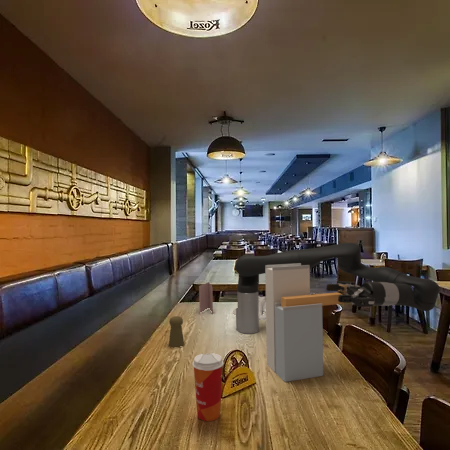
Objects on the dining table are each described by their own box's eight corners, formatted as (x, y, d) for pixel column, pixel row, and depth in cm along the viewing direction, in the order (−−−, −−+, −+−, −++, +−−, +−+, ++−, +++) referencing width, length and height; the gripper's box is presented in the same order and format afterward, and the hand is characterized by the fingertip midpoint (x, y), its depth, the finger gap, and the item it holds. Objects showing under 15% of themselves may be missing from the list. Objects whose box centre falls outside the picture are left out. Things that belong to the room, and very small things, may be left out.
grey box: (312, 367, 109) (311, 299, 109) (323, 375, 103) (322, 303, 103) (275, 373, 105) (274, 302, 105) (284, 382, 99) (283, 307, 99)
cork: (181, 348, 127) (180, 319, 127) (166, 347, 129) (165, 318, 129) (186, 342, 133) (185, 315, 133) (171, 342, 134) (171, 314, 134)
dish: (264, 323, 158) (264, 299, 158) (223, 315, 174) (222, 293, 174) (289, 312, 178) (288, 291, 178) (249, 305, 193) (249, 286, 193)
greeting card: (207, 309, 185) (207, 282, 185) (219, 310, 182) (219, 282, 182) (198, 314, 175) (197, 285, 175) (211, 316, 172) (210, 286, 172)
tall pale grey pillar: (301, 359, 115) (300, 263, 115) (311, 366, 110) (309, 265, 109) (266, 364, 112) (265, 265, 111) (274, 372, 106) (273, 267, 106)
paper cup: (193, 407, 86) (192, 352, 86) (223, 405, 87) (222, 351, 87) (192, 425, 78) (191, 365, 78) (225, 423, 79) (224, 363, 79)
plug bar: (337, 301, 110) (336, 292, 110) (342, 303, 107) (342, 294, 107) (281, 306, 104) (281, 297, 104) (285, 309, 101) (285, 299, 101)
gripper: (369, 274, 115) (324, 273, 113) (395, 292, 102) (345, 290, 99) (365, 295, 117) (321, 294, 114) (390, 314, 103) (341, 314, 101)
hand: (332, 292), depth 107 cm, fingers open, 8 cm apart
